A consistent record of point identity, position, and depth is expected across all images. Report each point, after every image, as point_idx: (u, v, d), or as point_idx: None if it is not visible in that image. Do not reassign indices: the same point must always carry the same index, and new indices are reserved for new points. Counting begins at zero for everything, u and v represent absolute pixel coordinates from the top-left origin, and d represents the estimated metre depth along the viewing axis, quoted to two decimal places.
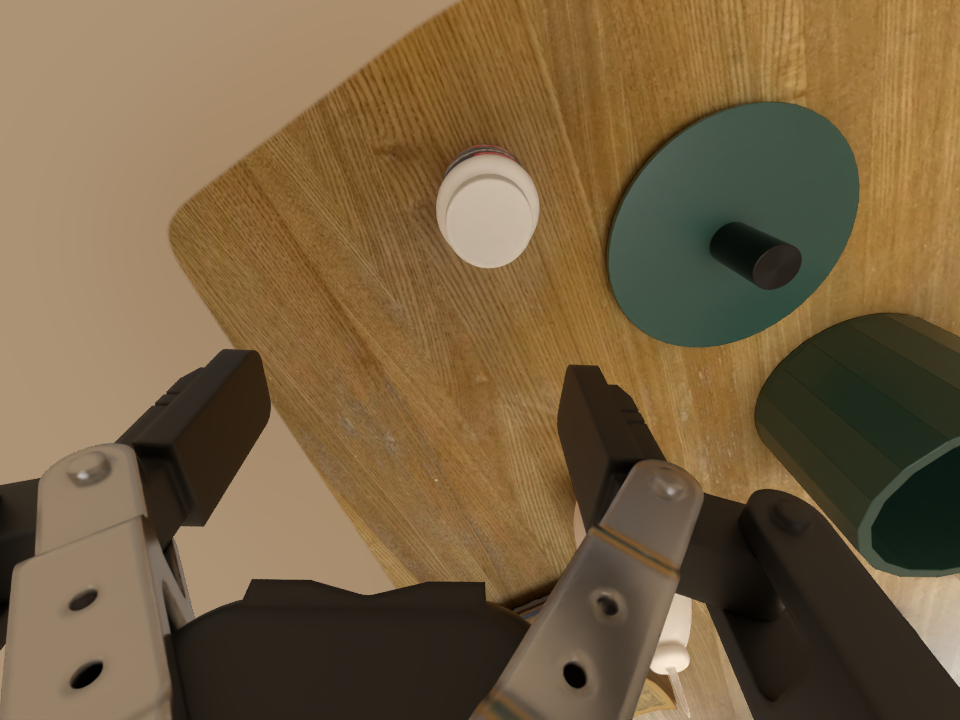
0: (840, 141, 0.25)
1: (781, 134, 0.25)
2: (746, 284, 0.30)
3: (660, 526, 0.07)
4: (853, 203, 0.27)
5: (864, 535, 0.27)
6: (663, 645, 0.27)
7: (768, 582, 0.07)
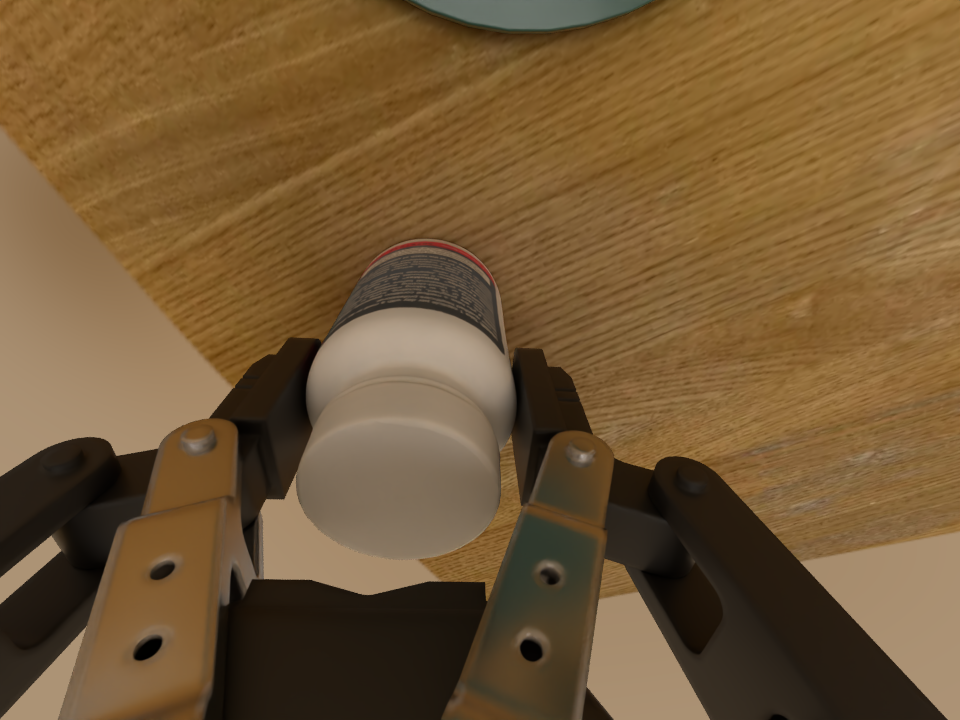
0: None
1: None
2: None
3: (566, 487, 0.07)
4: None
5: None
6: None
7: (670, 540, 0.08)
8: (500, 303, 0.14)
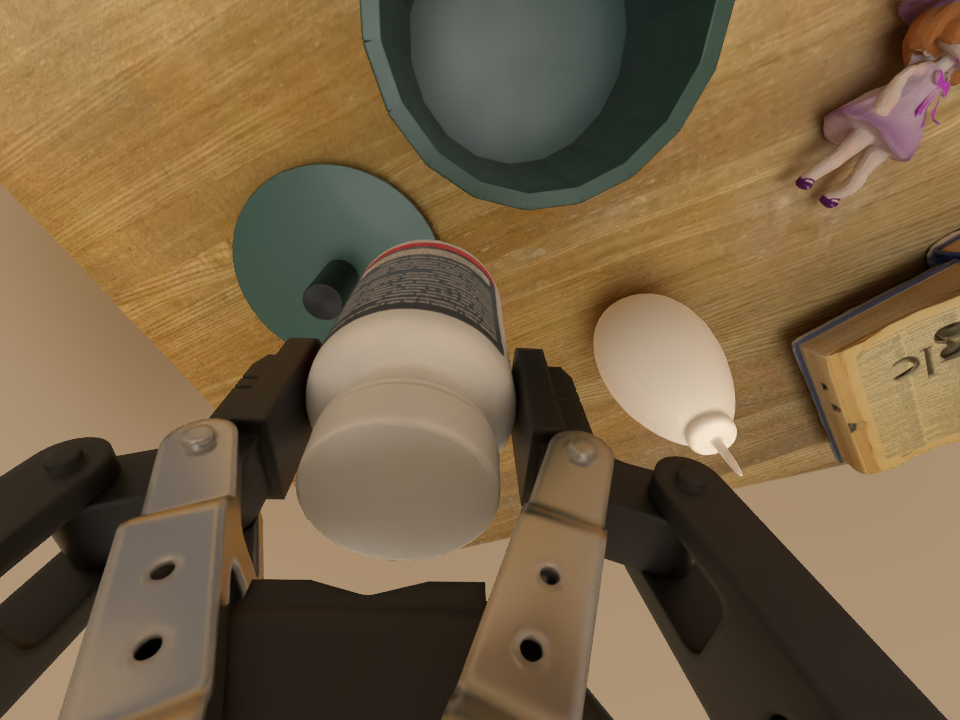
0: (245, 212, 0.30)
1: (254, 262, 0.32)
2: (375, 249, 0.32)
3: (566, 487, 0.07)
4: (287, 175, 0.29)
5: (594, 188, 0.20)
6: (685, 439, 0.24)
7: (670, 540, 0.08)
8: (500, 304, 0.14)
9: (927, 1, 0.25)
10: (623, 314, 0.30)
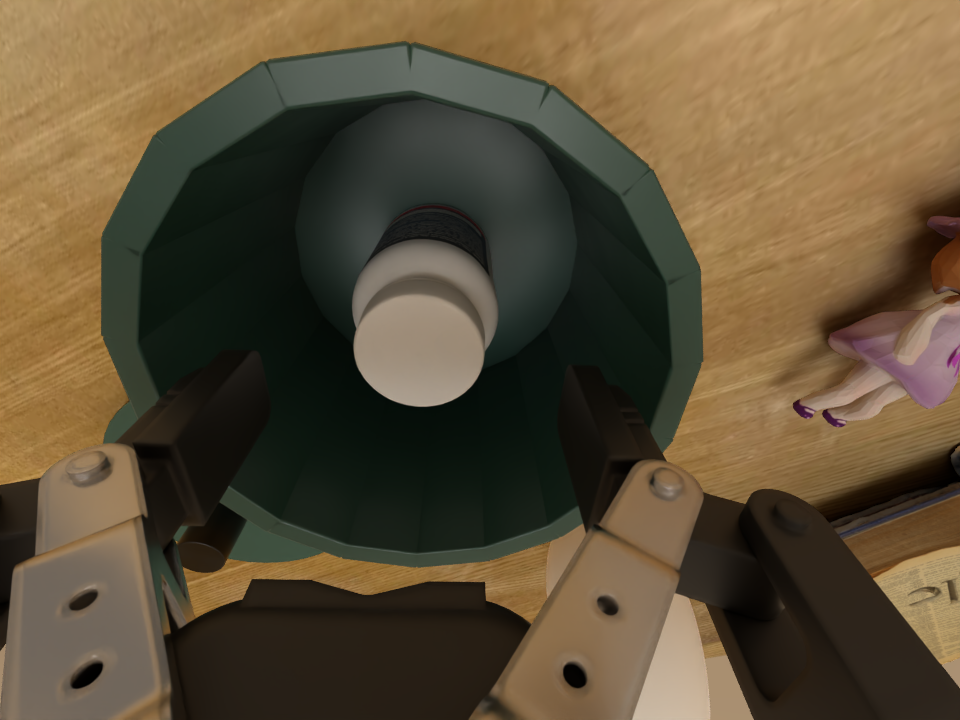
0: (112, 428, 0.25)
1: None
2: None
3: (660, 526, 0.07)
4: None
5: (508, 548, 0.15)
6: None
7: (768, 582, 0.07)
8: (489, 252, 0.19)
9: None
10: None
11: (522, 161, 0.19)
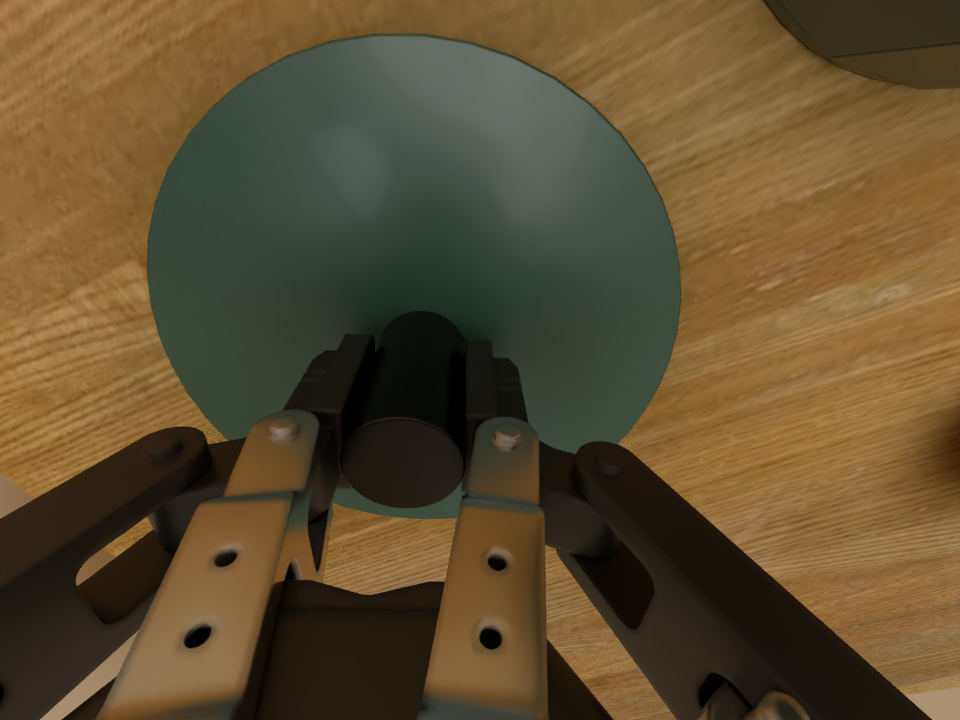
0: (174, 185, 0.11)
1: (206, 317, 0.13)
2: (520, 287, 0.12)
3: (485, 469, 0.08)
4: (295, 71, 0.10)
5: None
6: None
7: (589, 521, 0.08)
8: None
9: None
10: None
11: None
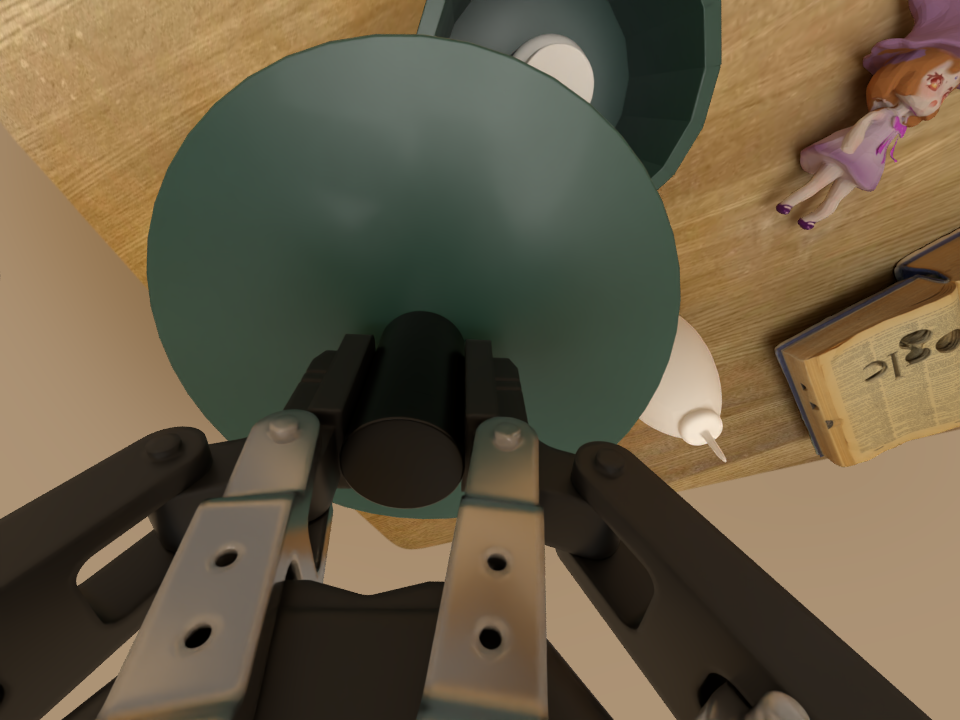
0: (173, 185, 0.11)
1: (206, 317, 0.13)
2: (520, 287, 0.12)
3: (485, 469, 0.08)
4: (295, 71, 0.10)
5: None
6: (679, 431, 0.28)
7: (588, 521, 0.08)
8: None
9: (886, 57, 0.29)
10: None
11: (596, 13, 0.28)
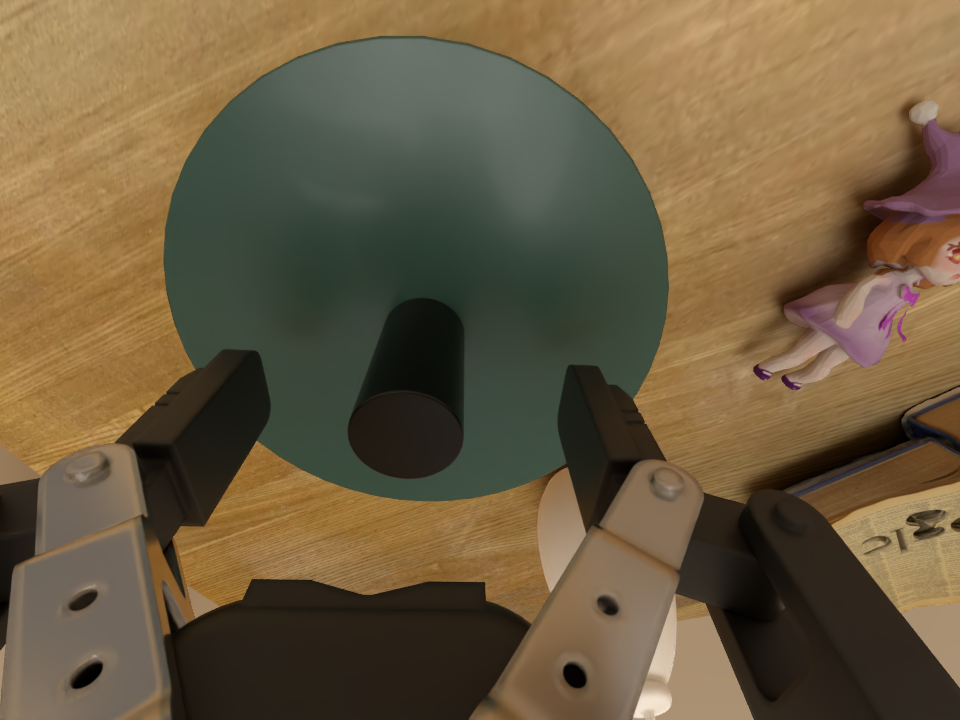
0: (190, 178, 0.11)
1: (219, 304, 0.13)
2: (516, 275, 0.13)
3: (660, 526, 0.07)
4: (305, 71, 0.10)
5: None
6: None
7: (768, 582, 0.07)
8: None
9: None
10: (564, 507, 0.28)
11: None
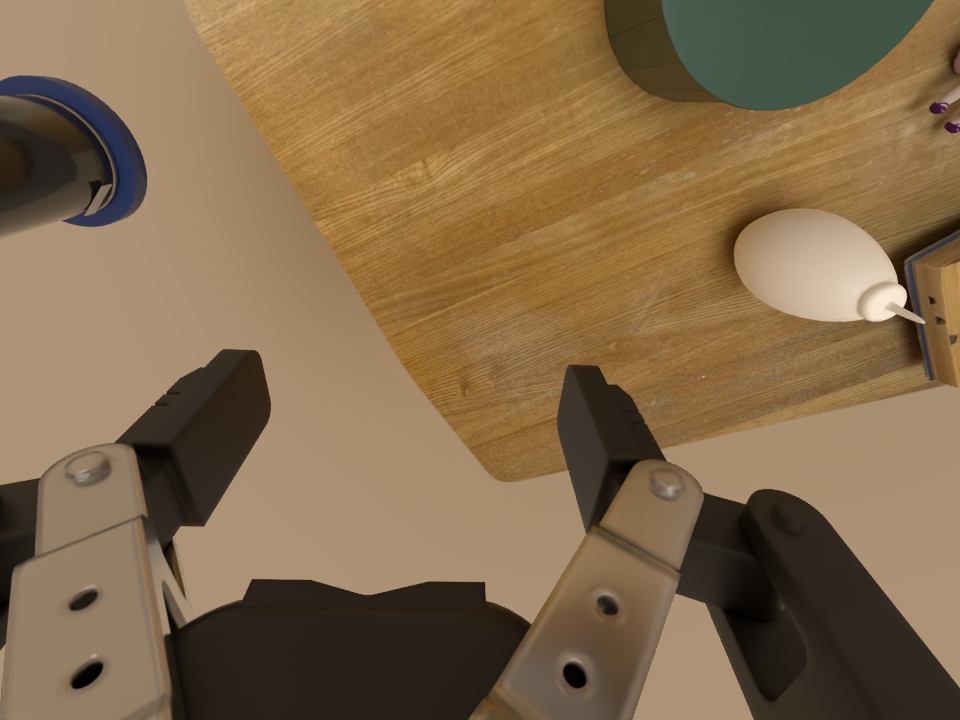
0: None
1: None
2: None
3: (660, 526, 0.07)
4: None
5: None
6: (859, 308, 0.29)
7: (768, 582, 0.07)
8: None
9: None
10: (777, 222, 0.35)
11: None
